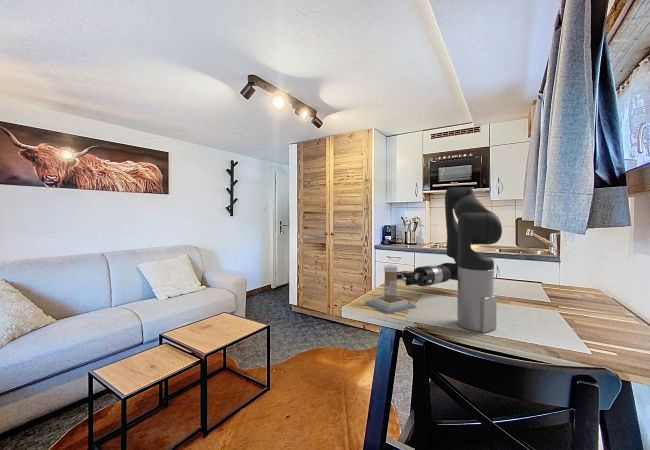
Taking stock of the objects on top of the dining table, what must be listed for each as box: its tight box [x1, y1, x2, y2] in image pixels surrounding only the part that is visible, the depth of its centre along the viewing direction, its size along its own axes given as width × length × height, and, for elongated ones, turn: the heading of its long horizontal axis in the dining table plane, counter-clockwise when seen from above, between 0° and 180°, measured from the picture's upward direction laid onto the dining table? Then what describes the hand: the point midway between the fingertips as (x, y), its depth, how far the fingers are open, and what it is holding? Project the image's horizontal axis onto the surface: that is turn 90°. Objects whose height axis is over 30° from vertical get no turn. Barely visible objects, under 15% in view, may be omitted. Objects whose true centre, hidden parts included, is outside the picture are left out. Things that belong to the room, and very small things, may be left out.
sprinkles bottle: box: [383, 264, 398, 303], centre depth 99 cm, size 5×5×14 cm
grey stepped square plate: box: [365, 295, 417, 315], centre depth 99 cm, size 12×13×2 cm
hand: (397, 280), depth 101 cm, fingers open, 8 cm apart
